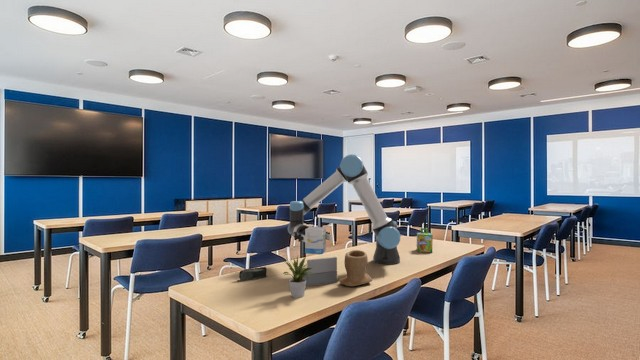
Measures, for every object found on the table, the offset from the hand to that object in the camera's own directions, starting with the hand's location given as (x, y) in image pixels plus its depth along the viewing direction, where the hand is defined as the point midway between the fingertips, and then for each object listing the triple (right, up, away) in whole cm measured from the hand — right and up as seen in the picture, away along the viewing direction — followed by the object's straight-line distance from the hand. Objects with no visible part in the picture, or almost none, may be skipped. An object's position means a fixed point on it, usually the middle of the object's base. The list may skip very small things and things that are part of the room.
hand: (318, 238), depth 161 cm
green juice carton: (+69, -19, +65) cm, 96 cm away
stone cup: (+17, -20, -7) cm, 27 cm away
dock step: (-1, -19, +1) cm, 19 cm away
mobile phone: (-32, -20, +3) cm, 37 cm away
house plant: (-9, -20, -22) cm, 31 cm away
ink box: (-2, -7, +4) cm, 8 cm away
